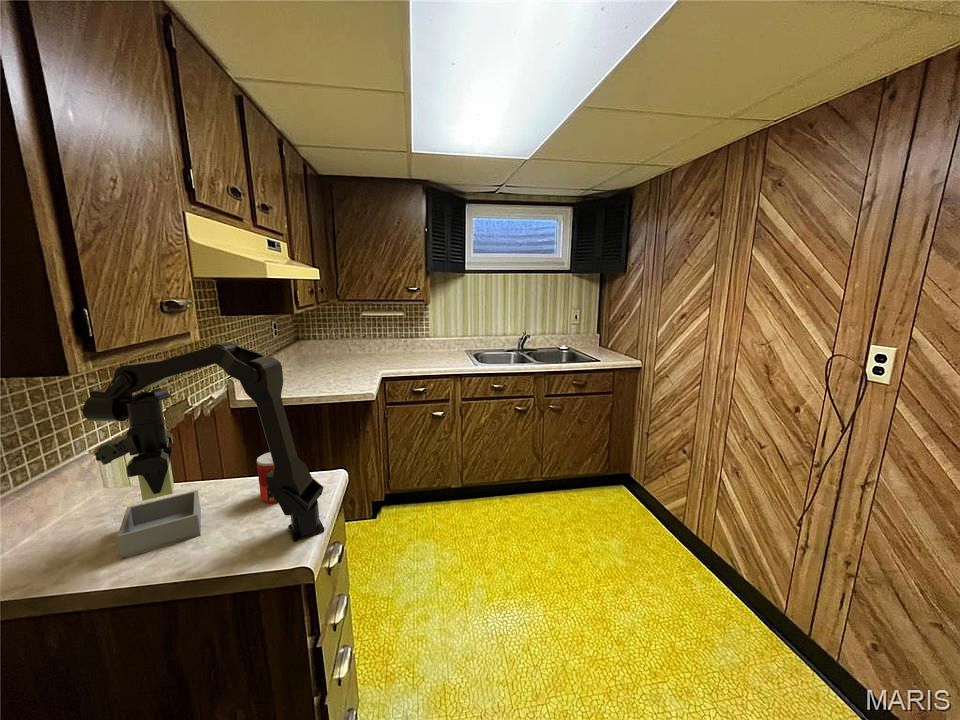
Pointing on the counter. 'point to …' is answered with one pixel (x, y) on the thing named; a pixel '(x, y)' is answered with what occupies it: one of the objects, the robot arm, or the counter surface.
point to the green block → (165, 490)
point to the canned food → (265, 476)
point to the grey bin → (159, 523)
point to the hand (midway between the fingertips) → (158, 488)
